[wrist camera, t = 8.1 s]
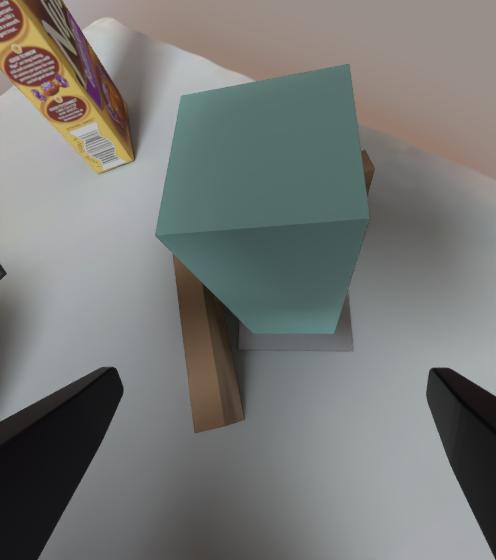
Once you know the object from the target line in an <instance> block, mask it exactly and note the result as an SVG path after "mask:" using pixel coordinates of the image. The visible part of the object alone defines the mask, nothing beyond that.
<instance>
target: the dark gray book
mask: <svg viewBox="0 0 496 560" xmlns="http://www.w3.org/2000/svg"><path fill="white" fill-rule="evenodd" d="M5 275H6V272H5V271H4V269H3V268H2V267H1V265H0V280H1V279H2V278H3V277H4V276H5Z"/></svg>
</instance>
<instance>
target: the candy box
mask: <svg viewBox="0 0 496 560" xmlns="http://www.w3.org/2000/svg"><path fill="white" fill-rule="evenodd" d="M0 70H1V71H2V72H3V73H5V75H6V76H7V77H8V78H9V79H10V80H11V81H12V83H14V85H15V86H16V87H17V88H18V89H19V90H20V91H21V92H22V93H23V94H24V95H25V96H26V98H27V99H28V100H29V101H30V102H31V103H32V104H33V105H34V106H35V107H36V108H37V110H38V111H39V112H40V113H41V114H42V115H43V116H44V117H45V118H46V119H47V120H48V121H49V122H50V124H51V125H52V126H53V127H54V128H55V129H56V130H57V131H58V132H59V133H60V134H61V135H62V136H63V137H64V138H65V140H66V141H67V142H68V143H69V144H70V145H71V146H72V147H73V148H74V149H75V150H76V151H77V152H78V153H79V154H80V156H81V157H82V158H83V159H84V160H85V161H86V162H87V163H88V164H89V165H90V166H91V168H92V169H93V170H94V171H95V172H96V173H97V174H100V173H103V172H106V171H108V170H111V169H114V168H116V167H119V166H121V165H124V164H126V163H129V162H132V161H134V156H133V150H132V144H131V137H130V129H129V121H128V114H127V104H126V102H125V101H124V99H123V98H122V96H121V94H120V93H119V91H118V89H117V88H116V86H115V85H114V83H113V81H112V80H111V78H110V77H109V75H108V73H107V72H106V70H105V68H104V67H103V65H102V64H101V62H100V60H99V59H98V57H97V55H96V54H95V52H94V51H93V49H92V47H91V46H90V44H89V43H88V41H87V39H86V38H85V36H84V35H83V33H82V31H81V30H80V28H79V27H78V25H77V24H76V22H75V20H74V19H73V17H72V15H71V14H70V13H69V11H68V9H67V8H66V6H65V4H64V2H63V1H62V0H0Z"/></svg>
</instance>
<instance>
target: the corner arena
mask: <svg viewBox="0 0 496 560" xmlns="http://www.w3.org/2000/svg"><path fill="white" fill-rule="evenodd" d="M361 156H362V163H363V171H364V178H365V186H366V193H367V196H368V192H369V188H370V185H371V181H372V177H373V173H374V169H375V168H374V166H373V164H372V162H371V160H370V158H369V157H368V155H367V153H366V151H365V150H364V151H361ZM173 260H174V268H175V276H176V284H177V293H178V301H179V309H180V317H181V325H182V334H183V342H184V350H185V358H186V366H187V374H188V383H189V391H190V399H191V407H192V415H193V423H194V432H195V433H198V432H202V431H206V430H211V429H215V428H219V427H223V426H227V425H230V424H233V423H236V422H238V421H241V420H244V414H243V409H242V403H241V398H240V393H239V388H238V382H237V377H236V372H235V367H234V361H233V356H232V351H231V346H230V340H229V335H228V330H227V325H226V319H225V314H224V309H223V303H222V302H221V301H220V300H219V299H218V298H217V297H216V296H215V295H214V294H213V293H212V292H211V291H210V290H209V289H208V288H207V287H206V286H205V285H204V284H203V283H202V282H201V281H200V280H199V279H198V278H197V277H196V276H195V275H194V274H193V273H192V272H191V271H190V270H189V269H188V268H187V267H186V266H185V265H184V264H183V263H182V262H181V261H180V260H179V259H178V258H177V257H176V256H175V255H174V254H173ZM238 350H298V351H353V341H352V330H351V319H350V308H349V297H348V290H347V294H346V297H345V300H344V303H343V306H342V310H341V313H340V316H339V319H338V322H337V326H336V329H335V332H334V334H253V333H252V332H251V331H250V330H249V329H248V328H247V327H246V326H245V325H244V324H243V323H242V322H241V321H240V323H239V342H238Z"/></svg>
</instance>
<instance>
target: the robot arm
mask: <svg viewBox="0 0 496 560" xmlns="http://www.w3.org/2000/svg"><path fill="white" fill-rule="evenodd" d="M123 390H124V389H123V385H122V382H121V379H120V376H119V374H118V371H117V369H116V368H115V367H101V368H99V369H97V370H95V371H93V372H91V373H90V374H88V375H86V376H84V377H82V378H80V379H78V380H77V381H75V382H73V383H71V384H69V385H67V386H65V387H64V388H62V389H60V390H58V391H56V392H54V393H53V394H51V395H49V396H47V397H45V398H43V399H41V400H40V401H38V402H36V403H34V404H32V405H30V406H28V407H27V408H25V409H23V410H21V411H19V412H17V413H15V414H14V415H12V416H10V417H8V418H6V419H4V420H2V421H1V422H0V560H38V558H39V556H40V554H41V552H42V550H43V549H44V547H45V545H46V543H47V541H48V539H49V538H50V536H51V534H52V532H53V530H54V529H55V527H56V525H57V523H58V521H59V519H60V518H61V516H62V514H63V512H64V510H65V508H66V507H67V505H68V503H69V501H70V499H71V498H72V496H73V494H74V492H75V490H76V488H77V487H78V485H79V483H80V481H81V479H82V478H83V476H84V474H85V472H86V470H87V468H88V467H89V465H90V463H91V461H92V459H93V457H94V456H95V454H96V452H97V450H98V448H99V446H100V444H101V442H102V440H103V438H104V436H105V434H106V432H107V429H108V427H109V425H110V423H111V420H112V418H113V416H114V414H115V411H116V409H117V407H118V404H119V402H120V400H121V398H122V395H123ZM426 397H427V402H428V405H429V407H430V410H431V413H432V416H433V419H434V421H435V424H436V427H437V430H438V433H439V435H440V438H441V441H442V444H443V446H444V449H445V452H446V455H447V457H448V460H449V463H450V465H451V467H452V469H453V472H454V474H455V476H456V478H457V480H458V482H459V484H460V487H461V489H462V491H463V493H464V495H465V497H466V499H467V501H468V503H469V505H470V507H471V509H472V512H473V514H474V516H475V518H476V520H477V522H478V524H479V526H480V528H481V530H482V532H483V535H484V537H485V539H486V541H487V543H488V545H489V547H490V549H491V551H492V553H493V555H494V557H495V560H496V396H494V395H493V394H491V393H490V392H488V391H486V390H485V389H483V388H481V387H480V386H478V385H477V384H475V383H473V382H472V381H470V380H468V379H467V378H465V377H464V376H462V375H460V374H459V373H457V372H455V371H454V370H452V369H450V368H431V369H430V371H429V376H428V383H427V391H426Z"/></svg>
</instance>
